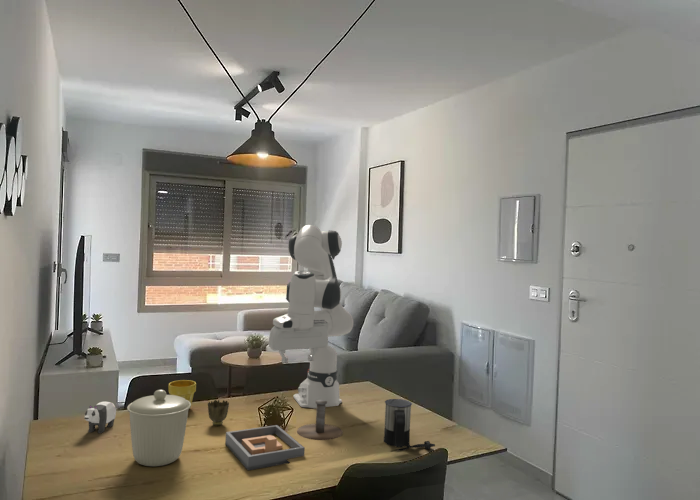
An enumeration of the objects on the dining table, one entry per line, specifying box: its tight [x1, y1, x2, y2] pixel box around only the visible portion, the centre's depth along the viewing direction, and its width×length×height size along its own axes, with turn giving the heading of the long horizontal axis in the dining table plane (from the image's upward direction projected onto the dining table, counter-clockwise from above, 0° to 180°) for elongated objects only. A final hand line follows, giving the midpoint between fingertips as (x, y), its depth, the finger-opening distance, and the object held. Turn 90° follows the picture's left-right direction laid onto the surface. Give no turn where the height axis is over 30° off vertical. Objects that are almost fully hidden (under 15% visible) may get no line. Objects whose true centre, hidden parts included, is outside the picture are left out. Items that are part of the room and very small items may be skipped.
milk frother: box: [383, 398, 436, 451], centre depth 182 cm, size 14×16×15 cm
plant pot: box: [168, 379, 197, 410], centre depth 212 cm, size 10×10×10 cm
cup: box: [207, 399, 230, 427], centre depth 195 cm, size 8×7×8 cm
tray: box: [225, 424, 305, 471], centre depth 172 cm, size 22×18×4 cm
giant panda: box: [83, 401, 117, 434], centre depth 184 cm, size 15×6×10 cm, turn 174°
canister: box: [126, 389, 192, 467], centre depth 163 cm, size 18×18×21 cm
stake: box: [296, 400, 344, 441], centre depth 189 cm, size 16×16×12 cm
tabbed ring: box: [242, 434, 283, 455], centre depth 172 cm, size 14×10×6 cm
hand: (297, 361), depth 180 cm, fingers open, 8 cm apart
